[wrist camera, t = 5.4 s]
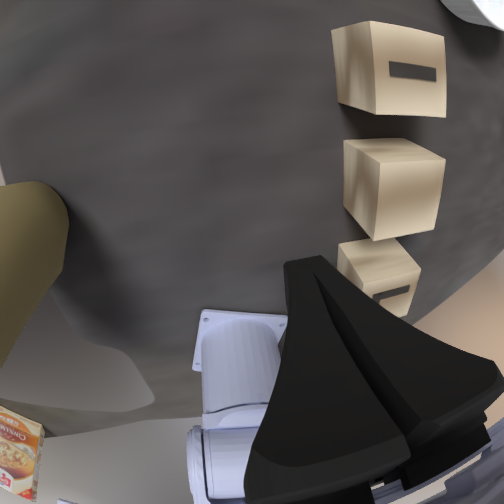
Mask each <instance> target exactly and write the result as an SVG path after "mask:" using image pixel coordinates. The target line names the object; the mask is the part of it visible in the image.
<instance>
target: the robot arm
mask: <svg viewBox="0 0 504 504" xmlns="http://www.w3.org/2000/svg"><path fill="white" fill-rule="evenodd" d="M283 267H284V281H285V295H286V305H287V309H288V316H286V315H274V314H259V313H245V312H233V311H221V310H210V309H205V310H203V311H202V312H201V317H200V322H199V328H198V334H197V340H196V346H195V352H194V358H193V365H192V369H193V370H195V371H202V395H203V415H202V418H203V429H201V426H200V425H199V426H198V425H195V426H193V428H192V429H191V430H190V431H189V432H188V433H187V462H188V475H189V483H190V489H191V493H192V494H193V498H194V504H388V503H390V502H393V501H395V500H397V499H399V498H402V497H404V496H406V495H409V494H411V493H413V492H415V491H417V490H419V489H421V488H423V487H425V486H427V485H429V484H431V483H432V482H434V481H436V480H438V479H440V478H442V477H443V476H445V475H447V474H449V473H450V472H452V471H454V470H455V469H457V468H459V467H460V466H462V465H463V464H465V463H467V462H468V461H470V460H471V459H473V458H474V457H475V456H477V455H479V454H480V453H481V452H482V454H481V458H480V459H479V460H478V461H476V462H474V463H473V464H471V465H469V466H468V467H466V468H464V469H462V470H461V471H459V472H458V473H456V474H454V475H453V476H452V477H450V478H449V479H447V480H446V481H445V482H444V484H445V486H446V489H445V490H443V491H441V492H440V493H438V494H436V495H434V496H432V497H430V498H428V499H426V500H424V501H422V502H420V503H418V504H504V418H502V419H501V420H500V421H498V422H497V423H496V424H494V425H493V426H492V427H490V428H489V429H487V430H486V428H485V425H484V422H486V421H487V417H486V415H485V413H484V411H485V410H486V409H487V408H488V407H489V406H490V405H491V404H492V403H493V402H494V401H495V400H496V399H497V398H498V397H499V396H500V395H501V394H502V393H503V392H504V377H503V375H502V374H501V372H500V370H499V369H498V367H497V366H496V364H495V362H494V361H492V360H489V359H486V358H483V357H480V356H477V355H474V354H471V353H468V352H465V351H463V350H460V349H458V348H456V347H453V346H451V345H448V344H446V343H444V342H442V341H440V340H437V339H436V338H434V337H431V336H430V335H428V334H426V333H424V332H422V331H420V330H418V329H417V328H415V327H413V326H411V325H410V324H408V323H406V322H405V321H403V320H402V319H400V318H399V317H397V316H395V315H394V314H392V313H391V312H389V311H388V310H386V309H385V308H384V307H382V306H381V305H380V304H378V303H377V302H376V301H374V300H373V299H372V298H370V297H369V296H368V295H366V294H365V293H364V292H363V291H362V290H360V289H359V288H358V287H357V286H356V285H354V284H353V283H352V282H351V281H350V280H348V279H347V278H346V277H345V276H344V275H343V274H341V273H340V272H339V271H338V270H337V269H336V268H335V267H334V266H332V265H331V264H330V263H329V262H328V261H327V260H326V259H325V258H323V257H322V256H321V255H319V256H314V257H309V258H304V259H298V260H293V261H288V262H286V263H285V264H284V265H283ZM205 318H207V319H205ZM282 323H283V324H282ZM286 326H287V329H286V336H285V342H284V348H283V353H282V358H281V357H280V353H279V349H278V343H279V341H280V339H281V337H282V335H283V333H284V331H285V328H286ZM383 482H384V486H381V487H379V488H376V489H373V490H371V487H372V486H375V485H377V484H380V483H383ZM57 504H77V503H73V502H69V501H66V500H62V499H58V500H57Z"/></svg>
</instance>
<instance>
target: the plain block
mask: <svg viewBox="0 0 504 504" xmlns="http://www.w3.org/2000/svg"><path fill="white" fill-rule="evenodd" d="M445 161H446V160H445V159H443V158H442V157H440V156H438V155H436V154H434V153H432V152H430V151H429V150H427V149H425V148H423V147H421V146H419V145H417V144H415V143H413V142H411V141H409V140H407V139H404V138H377V139H356V140H344V195H343V206H344V207H345V208H346V209H347V210H348V212H349V213H350V214H351V215H352V216H353V217H354V219H355V220H356V221H357V222H358V223H359V224H360V226H361V227H362V228H363V229H364V230H365V232H366V233H367V234H368V235H369V237H370V238H371V239H372V240H373V241H378V240H383V239H388V238H393V237H398V236H403V235H408V234H413V233H418V232H423V231H428V230H433V229H434V226H435V221H436V217H437V212H438V206H439V201H440V195H441V189H442V183H443V176H444V169H445Z"/></svg>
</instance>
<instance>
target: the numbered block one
mask: <svg viewBox="0 0 504 504" xmlns="http://www.w3.org/2000/svg"><path fill="white" fill-rule="evenodd" d="M331 33H332V42H333V50H334V60H335V71H336V83H337V97H338V102H339V103H342V104H345V105H349V106H352V107H355V108H358V109H361V110H364V111H367V112H370V113H373V114H376V115H416V116H433V117H445V118H446V61H445V46H444V37H443V36H440V35H436V34H432V33H429V32H425V31H421V30H417V29H412V28H408V27H403V26H398V25H393V24H387V23H381V22H375V21H366V22H362V23H357V24H353V25H349V26H345V27H341V28H337V29H334V30H331Z"/></svg>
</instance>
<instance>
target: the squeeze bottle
mask: <svg viewBox="0 0 504 504" xmlns="http://www.w3.org/2000/svg"><path fill="white" fill-rule="evenodd" d="M68 229H69V218H68V212H67V208H66V207H65V205H64V203H63V201H62V199H61V197H60V196H59V195H58V194H57V193H56V192H55V191H54V190H53V189H52V188H51V187H50V186H49V185H46V184H44V183H41V182H39V181H28V182H21V183H16V184H10V185H5V186H0V368H2V366H3V364H4V362H5V361H6V359H7V357H8V355H9V353H10V351H11V349H12V348H13V346H14V344H15V342H16V340H17V339H18V337H19V335H20V334H21V332H22V330H23V329H24V327H25V325H26V324H27V322H28V321H29V319H30V317H31V316H32V314H33V313H34V311H35V309H36V308H37V306H38V305H39V303H40V302H41V300H42V299H43V297H44V296H45V294H46V293H47V291H48V290H49V289H50V287H51V286H52V284H53V283H54V281H55V280H56V279H57V277H58V276H59V275H60V273H61V272H62V270H63V263H64V255H65V248H66V241H67V235H68Z"/></svg>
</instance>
